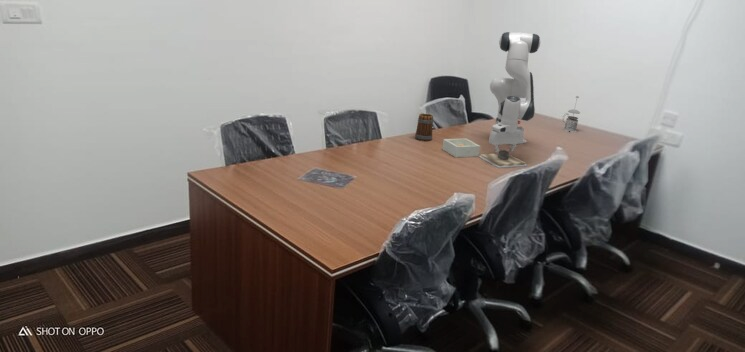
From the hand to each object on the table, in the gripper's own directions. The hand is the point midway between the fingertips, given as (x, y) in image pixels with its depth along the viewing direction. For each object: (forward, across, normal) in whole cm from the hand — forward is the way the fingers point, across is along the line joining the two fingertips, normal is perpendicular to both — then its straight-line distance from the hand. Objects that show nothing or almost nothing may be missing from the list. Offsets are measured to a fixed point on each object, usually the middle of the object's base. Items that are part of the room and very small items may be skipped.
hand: (504, 151), depth 273 cm
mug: (+6, +23, -49) cm, 54 cm away
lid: (+5, 0, 0) cm, 5 cm away
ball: (+3, +16, -18) cm, 24 cm away
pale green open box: (+6, +16, -18) cm, 25 cm away
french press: (+6, -97, -54) cm, 111 cm away
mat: (+6, 0, 0) cm, 6 cm away
